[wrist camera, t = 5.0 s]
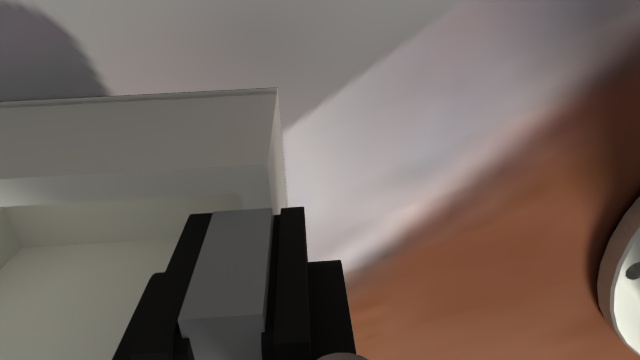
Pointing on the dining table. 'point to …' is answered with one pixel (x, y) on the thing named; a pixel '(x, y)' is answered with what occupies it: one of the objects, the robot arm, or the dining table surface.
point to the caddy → (136, 218)
